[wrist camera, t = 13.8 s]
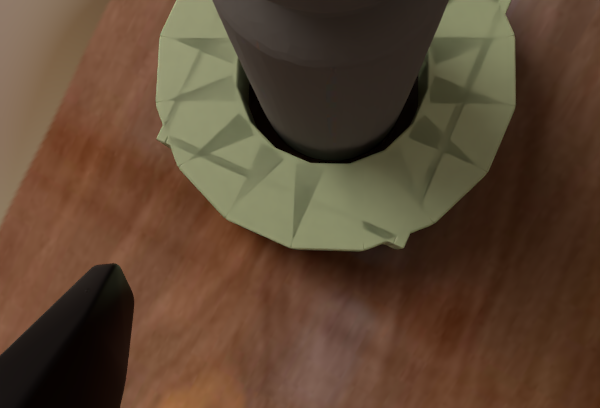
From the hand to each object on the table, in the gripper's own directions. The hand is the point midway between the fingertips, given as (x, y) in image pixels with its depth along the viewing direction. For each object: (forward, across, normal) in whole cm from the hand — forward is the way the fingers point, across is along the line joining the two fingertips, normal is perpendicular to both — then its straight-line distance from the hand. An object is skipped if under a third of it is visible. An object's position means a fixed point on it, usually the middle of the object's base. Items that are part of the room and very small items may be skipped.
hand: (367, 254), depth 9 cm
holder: (+13, 0, +4) cm, 14 cm away
